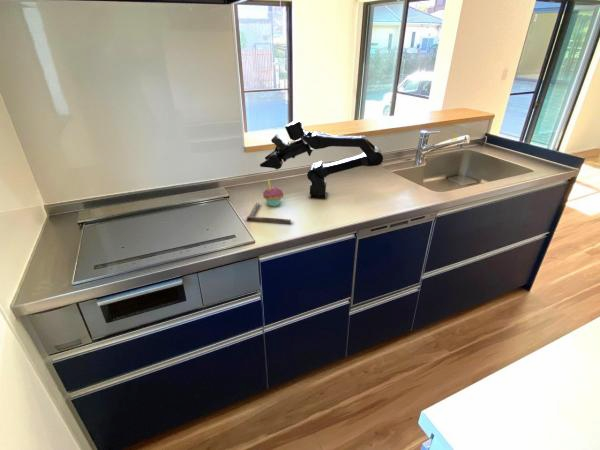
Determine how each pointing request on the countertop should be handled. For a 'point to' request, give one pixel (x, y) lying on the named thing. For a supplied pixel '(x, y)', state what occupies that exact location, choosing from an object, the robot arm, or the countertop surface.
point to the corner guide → (262, 219)
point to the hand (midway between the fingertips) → (262, 162)
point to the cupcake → (273, 195)
